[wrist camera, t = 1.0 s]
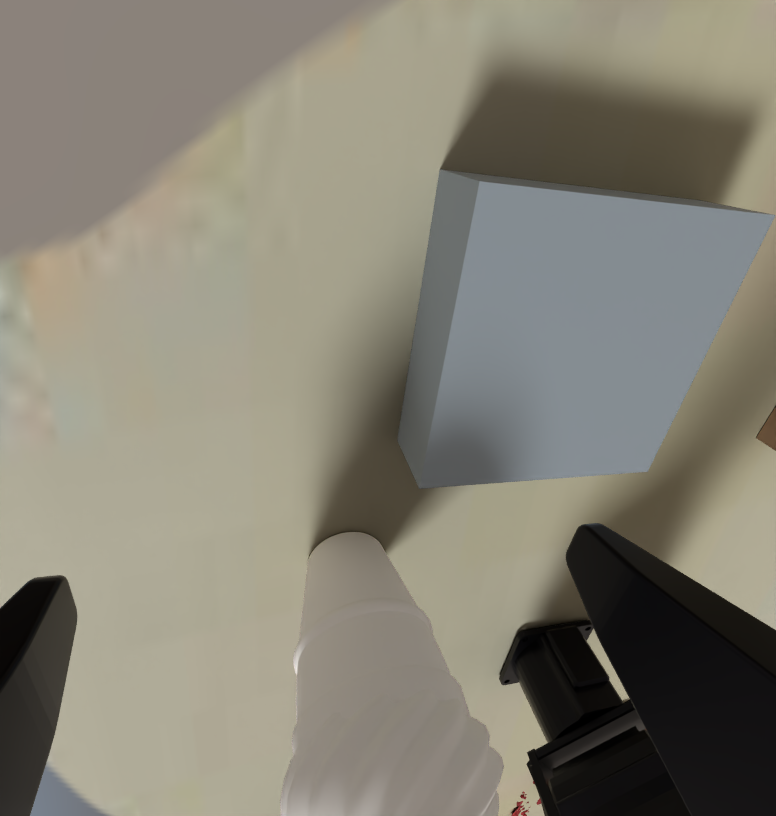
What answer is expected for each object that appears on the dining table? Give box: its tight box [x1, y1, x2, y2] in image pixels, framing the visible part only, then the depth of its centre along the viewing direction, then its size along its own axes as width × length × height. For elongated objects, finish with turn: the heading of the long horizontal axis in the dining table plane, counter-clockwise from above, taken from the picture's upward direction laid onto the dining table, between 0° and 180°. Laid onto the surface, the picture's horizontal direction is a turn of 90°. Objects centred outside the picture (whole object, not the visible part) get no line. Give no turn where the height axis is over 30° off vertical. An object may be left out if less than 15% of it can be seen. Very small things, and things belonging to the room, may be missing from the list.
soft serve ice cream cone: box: [280, 532, 504, 816], centre depth 20 cm, size 8×8×16 cm
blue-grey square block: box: [397, 169, 775, 489], centre depth 21 cm, size 12×12×4 cm
